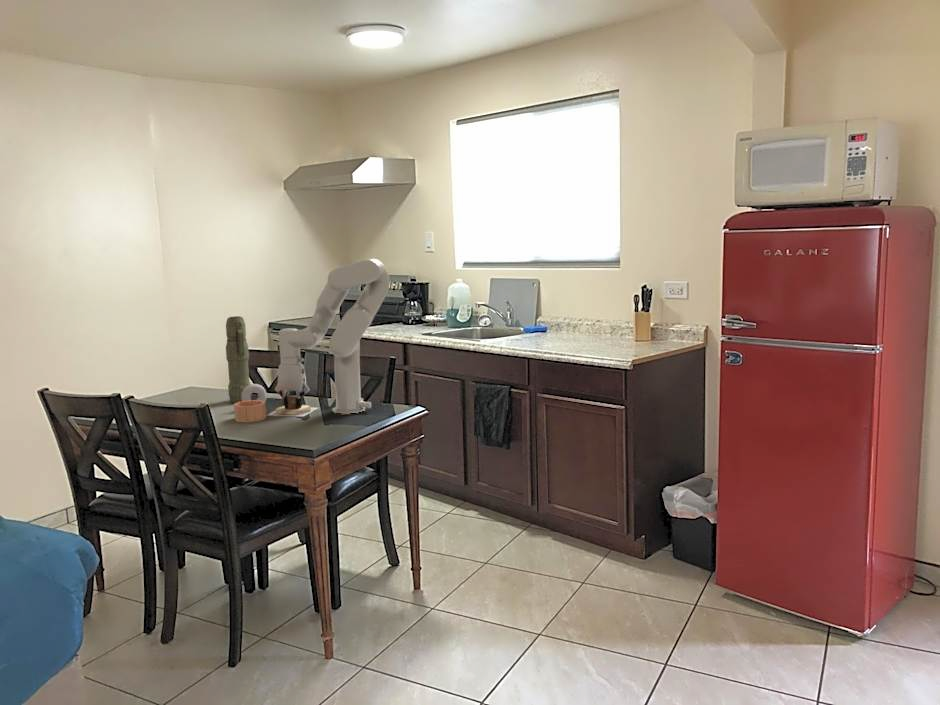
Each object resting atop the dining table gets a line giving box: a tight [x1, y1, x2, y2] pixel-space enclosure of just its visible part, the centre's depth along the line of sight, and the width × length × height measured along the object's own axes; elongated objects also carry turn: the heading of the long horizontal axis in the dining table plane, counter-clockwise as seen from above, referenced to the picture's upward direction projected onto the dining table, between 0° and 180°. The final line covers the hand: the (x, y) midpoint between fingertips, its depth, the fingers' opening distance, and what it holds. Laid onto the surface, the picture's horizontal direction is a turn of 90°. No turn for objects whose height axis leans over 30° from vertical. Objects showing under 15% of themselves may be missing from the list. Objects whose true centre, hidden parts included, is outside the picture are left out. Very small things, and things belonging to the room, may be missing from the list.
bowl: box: [233, 399, 267, 423], centre depth 273 cm, size 11×11×6 cm
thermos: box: [225, 315, 252, 404], centre depth 304 cm, size 9×12×35 cm
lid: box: [275, 395, 311, 415], centre depth 284 cm, size 13×13×6 cm
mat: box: [266, 406, 319, 418], centre depth 284 cm, size 15×15×1 cm
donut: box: [241, 383, 268, 402], centre depth 291 cm, size 10×4×10 cm, turn 125°
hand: (293, 407), depth 284 cm, fingers closed on lid, 4 cm apart
